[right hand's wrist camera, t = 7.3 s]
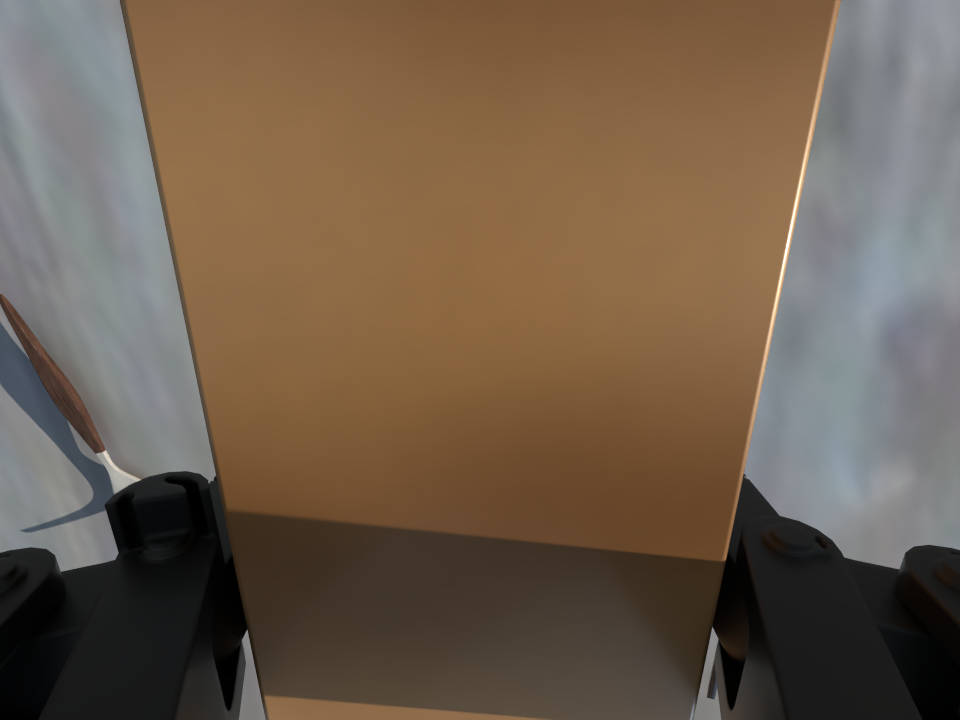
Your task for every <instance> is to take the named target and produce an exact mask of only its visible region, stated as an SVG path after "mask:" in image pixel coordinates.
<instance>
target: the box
mask: <svg viewBox="0 0 960 720" xmlns="http://www.w3.org/2000/svg"><path fill="white" fill-rule="evenodd" d="M840 1H841V0H120V3H121V8H122V13H123V18H124V23H125V28H126V33H127V38H128V43H129V48H130V53H131V58H132V63H133V68H134V72H135V77H136V82H137V87H138V92H139V97H140V102H141V107H142V112H143V117H144V122H145V127H146V132H147V136H148V141H149V146H150V151H151V156H152V161H153V166H154V171H155V176H156V181H157V186H158V191H159V196H160V201H161V205H162V210H163V215H164V220H165V225H166V230H167V235H168V240H169V245H170V250H171V255H172V260H173V265H174V270H175V274H176V279H177V284H178V289H179V294H180V299H181V304H182V309H183V314H184V319H185V324H186V329H187V334H188V338H189V343H190V348H191V353H192V358H193V363H194V368H195V373H196V378H197V383H198V388H199V393H200V398H201V403H202V407H203V412H204V417H205V422H206V427H207V432H208V437H209V442H210V447H211V452H212V457H213V462H214V467H215V472H216V476H217V481H218V486H219V491H220V496H221V501H222V506H223V511H224V516H225V521H226V526H227V531H228V536H229V540H230V545H231V550H232V555H233V560H234V565H235V570H236V575H237V580H238V585H239V590H240V595H241V600H242V605H243V609H244V614H245V619H246V624H247V629H248V634H249V639H250V644H251V649H252V654H253V659H254V664H255V669H256V674H257V678H258V683H259V688H260V693H261V698H262V703H263V708H264V713H265V718H266V720H693V718H694V713H695V708H696V703H697V699H698V694H699V689H700V684H701V679H702V674H703V669H704V664H705V660H706V655H707V650H708V645H709V640H710V635H711V630H712V625H713V620H714V616H715V611H716V606H717V601H718V596H719V591H720V586H721V581H722V577H723V572H724V567H725V562H726V557H727V552H728V547H729V542H730V538H731V533H732V528H733V523H734V518H735V513H736V508H737V503H738V499H739V494H740V489H741V484H742V479H743V474H744V469H745V464H746V460H747V455H748V450H749V445H750V440H751V435H752V430H753V425H754V421H755V416H756V411H757V406H758V401H759V396H760V391H761V386H762V382H763V377H764V372H765V367H766V362H767V357H768V352H769V347H770V343H771V338H772V333H773V328H774V323H775V318H776V313H777V308H778V304H779V299H780V294H781V289H782V284H783V279H784V274H785V269H786V265H787V260H788V255H789V250H790V245H791V240H792V235H793V230H794V226H795V221H796V216H797V211H798V206H799V201H800V196H801V191H802V187H803V182H804V177H805V172H806V167H807V162H808V157H809V152H810V148H811V143H812V138H813V133H814V128H815V123H816V118H817V113H818V109H819V104H820V99H821V94H822V89H823V84H824V79H825V74H826V70H827V65H828V60H829V55H830V50H831V45H832V40H833V35H834V31H835V26H836V21H837V16H838V11H839V6H840Z"/></svg>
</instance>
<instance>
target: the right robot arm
mask: <svg viewBox="0 0 960 720" xmlns="http://www.w3.org/2000/svg"><path fill="white" fill-rule="evenodd" d="M105 508H106V511H107V515H108V518H109V521H110V525H111V528H112V531H113V535H114V538H115V541H116V545H117V548H118V552H119V554H118V556H117V558H116V560H114V561H110V562H106V563H101V564H96V565H92V566H87V567H82V568H77V569H73V570H68V571H63V572H61V571H60V568H59V566H58V563H57V560H56V557H55V555H54V554H52V553H51V552H50V551H48V550H47V549H41V548H32V547H31V548H24V549H17V550H10V551H6V552H2V553H0V720H239V713H240V705H241V697H242V689H243V681H244V673H245V665H246V662H245V654H244V649H243V644H242V639H243V637H244V635H245V633H246V631H247V624H246V619H245V614H244V609H243V605H242V600H241V595H240V590H239V585H238V580H237V575H236V570H235V565H234V560H233V555H232V550H231V545H230V540H229V536H228V531H227V526H226V521H225V516H224V511H223V506H222V501H221V496H220V491H219V486H218V481H217V476H215V477H214V481H211V482H210V483H208V480H207V479H206V478H204V477H203V476H202V475H201V474H197V473H192V472H187V471H183V472H168V473H163V474H159V475H155V476H150V477H147V478H145V479H142V480H140V481H137V482H135V483H132V484H130V485H128V486H127V487H125V488H124V489H122V490H120V491H119V492H117V493H116V494H114V495H113V496H112V497H111V499H110V500H109V501H108V502H107V503H106V504H105ZM712 626H713V628H714V630H715V632H716V634H717V636H718V638H719V639H718V644H717V649H716V653H715V658H714V663H713V667H712V672H711V677H710V682H709V687H708V694H707V698H711V699H715V695H716V690H717V688H718V696H719V704H720V712H721V720H960V550H957V549H953V548H947V547H940V546H933V545H924V546H915V547H913V548H911V549H910V550H909V551H907V552H906V553H905V556H904V558H903V561H902V564H901V567H900V570H899V569H894V568H890V567H885V566H880V565H875V564H870V563H865V562H861V561H856V560H852V559H848V558H844V557H843V555H842V553H841V551H840V550H839V549H838V547H837V546H836V545H835V543H834V542H833V541H832V540H831V539H830V538H828V537H827V536H825V535H824V534H823V533H821V532H820V531H819V530H817V529H815V528H813V527H811V526H809V525H806V524H804V523H802V522H800V521H797V520H793V519H789V518H785V517H781V516H779V515H778V513H777V512H776V511H775V510H774V509H773V508H772V506H771V505H770V504H769V503H768V502H767V500H766V499H765V498H764V497H763V496H762V494H761V493H760V492H759V491H758V490H757V489H756V487H755V486H754V485H753V484H752V483H751V481H750V480H749V479H746V475H745V474H743V479H742V484H741V489H740V494H739V499H738V503H737V508H736V513H735V518H734V523H733V528H732V533H731V538H730V542H729V547H728V552H727V557H726V562H725V567H724V572H723V577H722V581H721V586H720V591H719V596H718V601H717V606H716V611H715V616H714V620H713V625H712Z"/></svg>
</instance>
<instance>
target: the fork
mask: <svg viewBox="0 0 960 720" xmlns="http://www.w3.org/2000/svg"><path fill="white" fill-rule="evenodd" d="M0 304H1V306H2V308H3V310H4V312H5V314H6V316H7V318H8V320H9V322H10V324H11V326H12V328H13V330H14V331H15V333H16V335H17V337H18V339H19V340H20V342H21V344H22V346H23V348H24V349H25V351H26V353H27V355H28V357H29V358H30V360H31V362H32V364H33V366H34V368H35V370H36V372H37V374H38V375H39V377H40V379H41V381H42V383H43V385H44V387H45V388H46V390H47V392H48V394H49V395H50V397H51V398H52V400H53V401H54V403H55V404H56V406H57V407H58V408H59V410H60V411H61V412H62V414H63V415H64V416H65V417H66V419H67V420H68V421H69V422H70V424H71V425H72V426H73V427H74V428H75V430H76V431H77V432H78V433H79V434H80V436H81V437H82V438H83V439H84V440H85V442H86V443H87V444H88V445H89V446H90V448H91V449H92V450H93V451H94V453H95V454H96V455H97V456H98V458H99V459H100V460H101V462H102V463H103V464H104V466H105V467H106V469H107V471H108V473H109V476H110V480H111V485H112V490H113V495H114V494H116V493H117V492H119V491H120V490H122V489H124V488H125V487H127V486H128V485H130V484H132V483H135V482H137V481H140V480H141V479H139V478H137V477H135V476H132V475H130V474H128V473H126V472H124V471H122V470H121V469H119V468H118V467H117V466H115V464H114V463H113V462H112V460H111V459H110V457H109V455H108V453H107V451H106V449H105V447H104V445H103V443H102V441H101V439H100V437H99V435H98V432H97V430H96V428H95V426H94V424H93V422H92V420H91V418H90V416H89V414H88V412H87V409H86V407H85V406H84V404H83V402H82V400H81V398H80V397H79V395H78V393H77V392H76V390H75V389H74V387H73V386H72V384H71V383H70V382H69V380H68V379H67V378H66V376H65V375H64V374H63V373H62V371H61V370H60V369H59V367H58V366H57V365H56V364H55V362H54V361H53V360H52V359H51V357H50V356H49V355H48V353H47V352H46V351H45V349H44V348H43V347H42V345H41V344H40V343H39V341H38V340H37V338H36V337H35V336H34V334H33V333H32V331H31V330H30V329H29V327H28V326H27V324H26V323H25V322H24V320H23V319H22V318H21V316H20V315H19V314H18V312H17V311H16V310H15V309H14V307H13V306H12V305H11V304H10V302H9V301H8V300H7V299H6V298H5V297H4V296H3V295H2V294H0Z"/></svg>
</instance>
